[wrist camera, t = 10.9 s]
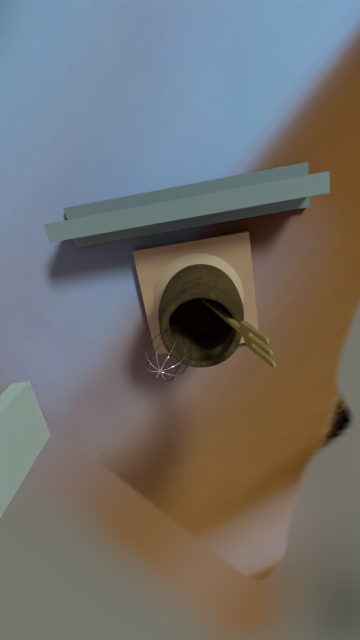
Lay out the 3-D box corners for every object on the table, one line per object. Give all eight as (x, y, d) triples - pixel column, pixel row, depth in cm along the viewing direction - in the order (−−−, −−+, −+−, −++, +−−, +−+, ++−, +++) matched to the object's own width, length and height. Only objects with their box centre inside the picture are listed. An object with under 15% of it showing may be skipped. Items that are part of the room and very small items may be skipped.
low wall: (66, 208, 25) (40, 209, 21) (305, 162, 23) (329, 154, 19) (77, 247, 26) (54, 255, 22) (307, 206, 24) (330, 207, 20)
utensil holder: (152, 275, 26) (116, 334, 14) (229, 250, 24) (256, 291, 13) (177, 340, 27) (162, 438, 16) (249, 319, 26) (287, 408, 15)
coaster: (134, 250, 26) (132, 251, 25) (247, 230, 25) (249, 231, 24) (156, 350, 29) (155, 355, 28) (257, 337, 28) (259, 341, 27)
